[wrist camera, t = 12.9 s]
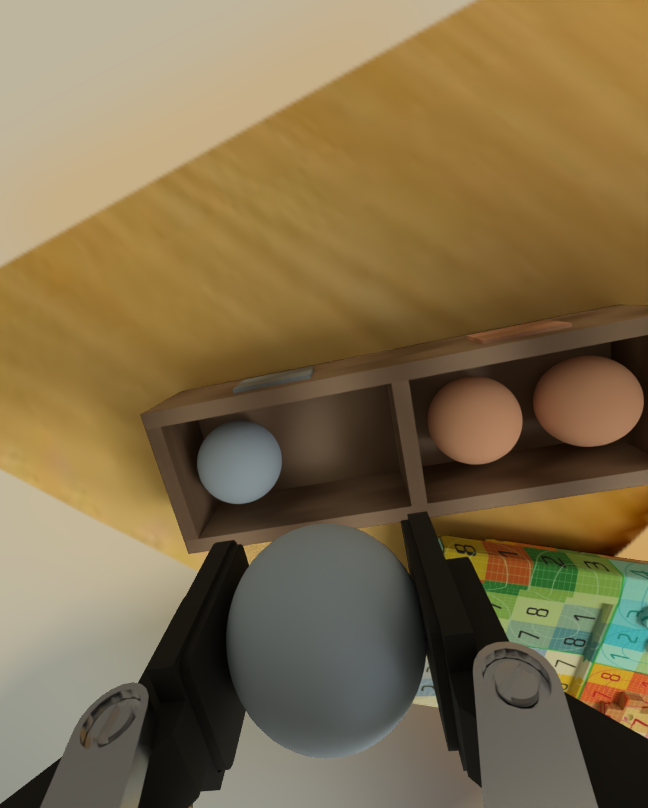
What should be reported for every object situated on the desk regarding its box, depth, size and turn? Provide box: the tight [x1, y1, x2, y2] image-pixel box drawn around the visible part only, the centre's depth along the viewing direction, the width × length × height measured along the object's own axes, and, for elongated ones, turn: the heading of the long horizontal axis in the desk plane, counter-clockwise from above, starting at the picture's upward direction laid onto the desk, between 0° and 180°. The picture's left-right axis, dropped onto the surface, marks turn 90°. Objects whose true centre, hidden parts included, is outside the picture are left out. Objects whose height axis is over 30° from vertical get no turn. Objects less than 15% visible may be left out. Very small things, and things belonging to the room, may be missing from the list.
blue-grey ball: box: [197, 420, 282, 504], centre depth 21 cm, size 5×5×5 cm
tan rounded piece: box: [533, 356, 644, 447], centre depth 19 cm, size 5×5×5 cm
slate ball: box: [226, 524, 427, 758], centre depth 9 cm, size 5×5×5 cm
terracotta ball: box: [427, 376, 522, 464], centre depth 20 cm, size 5×5×5 cm
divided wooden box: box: [140, 305, 648, 554], centre depth 21 cm, size 25×8×5 cm, turn 102°
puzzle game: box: [412, 535, 648, 738], centre depth 24 cm, size 12×5×20 cm
